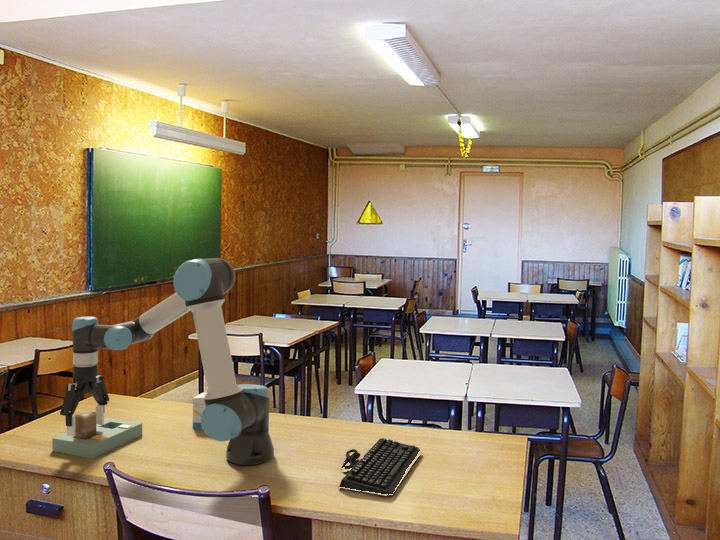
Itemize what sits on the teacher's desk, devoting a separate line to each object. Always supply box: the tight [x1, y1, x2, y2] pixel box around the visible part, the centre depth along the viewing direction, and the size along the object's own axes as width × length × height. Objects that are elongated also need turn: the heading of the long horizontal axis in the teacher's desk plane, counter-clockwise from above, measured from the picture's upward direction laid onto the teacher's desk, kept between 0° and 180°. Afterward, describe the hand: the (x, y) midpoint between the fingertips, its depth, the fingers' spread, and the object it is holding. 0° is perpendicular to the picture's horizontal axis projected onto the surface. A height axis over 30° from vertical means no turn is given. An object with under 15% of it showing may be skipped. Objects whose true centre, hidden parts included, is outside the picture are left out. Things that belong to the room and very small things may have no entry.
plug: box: [74, 410, 96, 440], centre depth 206 cm, size 5×5×11 cm
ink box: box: [192, 392, 207, 430], centre depth 232 cm, size 9×8×12 cm
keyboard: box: [338, 437, 421, 495], centre depth 195 cm, size 37×22×5 cm, turn 161°
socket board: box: [51, 417, 143, 460], centre depth 212 cm, size 16×24×5 cm, turn 161°
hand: (85, 429), depth 206 cm, fingers open, 12 cm apart
